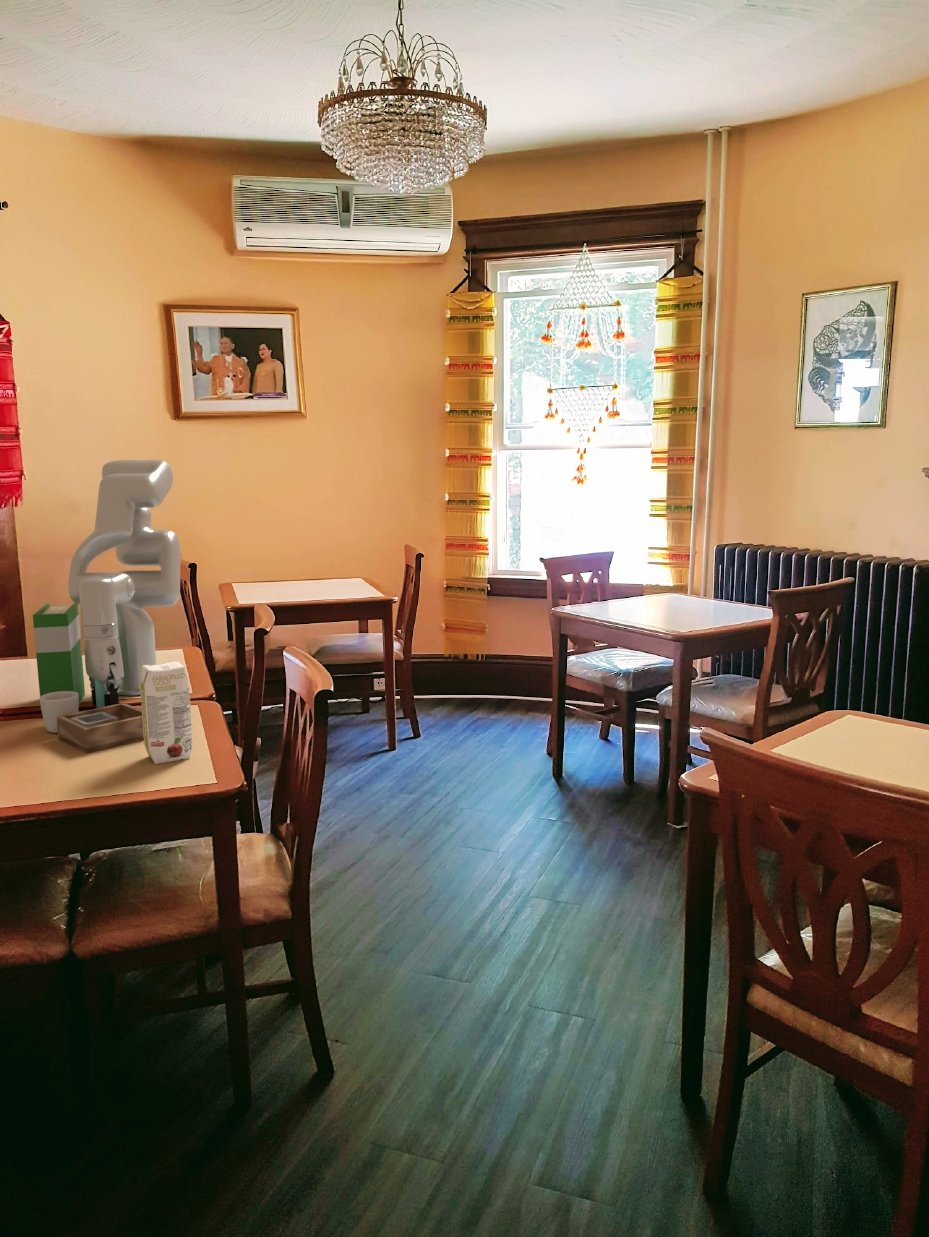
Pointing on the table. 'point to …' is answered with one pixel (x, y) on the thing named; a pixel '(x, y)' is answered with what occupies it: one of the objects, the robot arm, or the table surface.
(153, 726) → the juice carton
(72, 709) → the cup
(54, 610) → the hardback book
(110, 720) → the socket
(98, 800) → the table surface
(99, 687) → the plug
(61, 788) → the table surface
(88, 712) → the box
